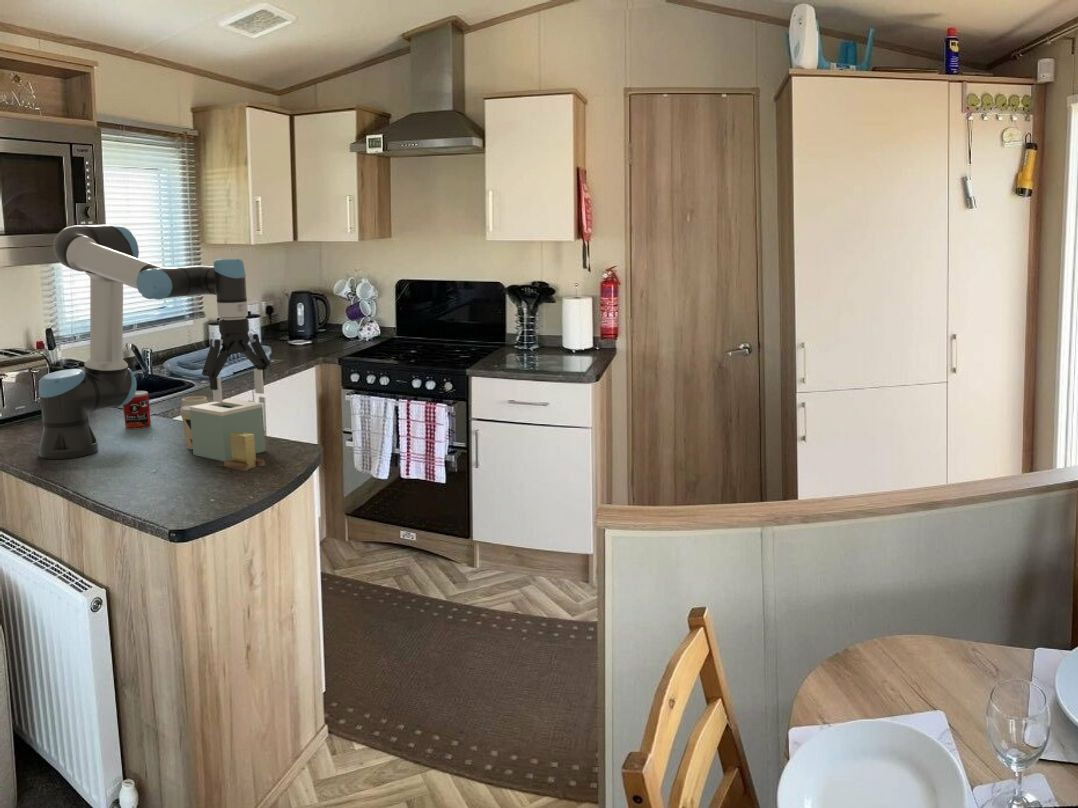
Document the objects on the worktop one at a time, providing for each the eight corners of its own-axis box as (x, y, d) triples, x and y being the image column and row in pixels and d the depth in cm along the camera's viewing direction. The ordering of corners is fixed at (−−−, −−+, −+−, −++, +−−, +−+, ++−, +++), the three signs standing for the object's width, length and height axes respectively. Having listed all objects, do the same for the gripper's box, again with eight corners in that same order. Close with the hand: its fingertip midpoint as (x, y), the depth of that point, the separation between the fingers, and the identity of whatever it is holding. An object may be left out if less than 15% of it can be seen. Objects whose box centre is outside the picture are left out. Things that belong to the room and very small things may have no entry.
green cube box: (225, 461, 253) (221, 412, 250) (193, 454, 260) (189, 406, 258) (265, 450, 264) (262, 403, 262) (233, 444, 272) (230, 398, 269)
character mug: (192, 445, 270) (189, 401, 268) (174, 443, 273) (171, 400, 271) (219, 437, 280) (216, 396, 278) (201, 436, 283) (198, 394, 281)
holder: (243, 471, 244) (243, 465, 243) (224, 466, 248) (223, 461, 248) (264, 465, 249) (264, 459, 249) (245, 460, 254) (244, 455, 253)
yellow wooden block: (247, 469, 246) (245, 436, 244) (232, 465, 249) (230, 433, 247) (256, 466, 248) (254, 434, 246) (241, 463, 251) (239, 431, 250)
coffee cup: (185, 452, 264) (182, 411, 261) (182, 444, 272) (179, 405, 269) (219, 448, 268) (216, 408, 265) (215, 441, 276) (212, 402, 273)
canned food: (123, 429, 291) (120, 396, 289) (127, 424, 299) (124, 391, 296) (149, 428, 293) (146, 394, 291) (152, 422, 301) (149, 390, 298)
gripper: (201, 323, 228) (208, 406, 232) (280, 314, 249) (285, 391, 253) (183, 322, 232) (190, 403, 237) (261, 313, 253) (266, 388, 257)
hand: (239, 397), depth 245 cm, fingers open, 13 cm apart
